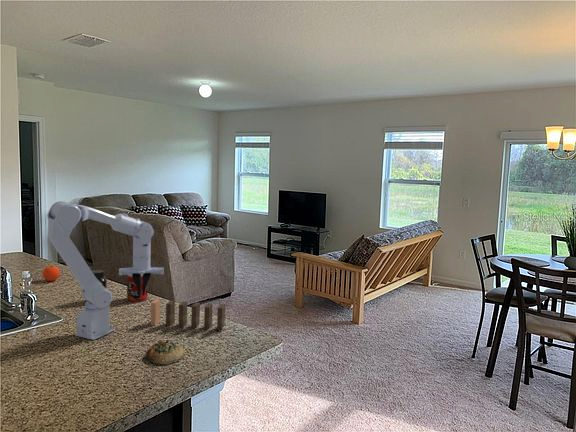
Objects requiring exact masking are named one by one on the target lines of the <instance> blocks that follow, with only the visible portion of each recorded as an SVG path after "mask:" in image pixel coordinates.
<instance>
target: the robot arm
mask: <svg viewBox="0 0 576 432" xmlns="http://www.w3.org/2000/svg"><path fill="white" fill-rule="evenodd" d="M46 217H47V221H48V223H47V224H48V225H47V236H48V240H49V241H50V243H51V244H52V246H53V247H54V248H55V250H56V252H57V253H58V254H59V256H60V257H61V259H62V260H63V262H64V263H65V265H66V267H68V269H69V270H70V271H71V274H72V275H73V276H74V278H75V279H76V281H77V282H78V284H79V288H80V289H81V292H82V294H81V295H82V298H84V300H85V304H84V308H83V309H82V310H81V311H79V312H78V314H77V316H76V333H74V335H75V336H76V337H79V338H85V339H87V340H91V341H94V340H96V339H98V338H101V337H103V336H106V335H107V334H109V333H112V332H114V331H116V328H114V327H110V304H111V303H112V301H113V293H112V291H111V290H110V289H108V288H107V289H106V288H105V287H104V286H103V285H102V283H101V282H100V281H99V280H98V279H97V278H96V277H95V275H94V274H93V272H92V271H93V270H91V268H90V267H89V265H88V264H87V262H86V260H85V259H84V257H83V256H82V254H81V252H80V251H79V250H78V248H77V247H76V245H75V244H74V242H73V240H72V239H71V237H70V236H71V234H72V231H73V229H74V228H75V227H76V226H77V224H79V222H84V221H86V220H87V221H88V220H92V221H96V222H99V223H103V224H106V225H110V227H111V229H112V230H113V231H116V232H118V233H121V234H125V235H128V236H132V267H123V268H119V269H118V276H125V275H126V276H127V275H131V274H132V279H133V281H134V282H135V285H136V287H137V290H138V295H141V274H143V290H142V295H145V289H146V286H147V283H148V284H149V280H150V279H151V276H152V275H164V273H165V271H164V270H165V269H164V268H165V267H157V266H156V267H152V266H151V253H152V252H151V248H152V247H151V243H152V242H151V241H152V237H153V236H154V233H155V230H154V228H153V226H152V225H151V223H149V222H145V221H143V220H142V221H141V219H140V218H138V217H136V218H134V217H131V216H129V215H128V214H127V213H125V212H123V213H117V214H115V215H112V214H109V213H107V212H105V211H104V212H103V211H101V210H98V209H96V208H93V207H90V206H86V205H81V204H76V203H68V202H66V201H56V202H55V203H53V204H51V206H50V208H49V210H48V212H47V216H46Z"/></svg>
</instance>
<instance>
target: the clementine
mask: <svg viewBox="0 0 576 432" xmlns="http://www.w3.org/2000/svg"><path fill="white" fill-rule="evenodd" d="M42 271H43V272H42V277H43V279H44V280H46V281H48V282H53V281H56V280H58V279H59V278H60V276H61V275H60V274H61V270H60V269H59V268H58V267H57V266H56V265H47V266H46V267H45V268H44V269H43V270H42Z"/></svg>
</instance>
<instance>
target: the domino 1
mask: <svg viewBox="0 0 576 432" xmlns="http://www.w3.org/2000/svg"><path fill="white" fill-rule="evenodd" d="M160 321H161V299H158V298H157V299H156V298H155V299H154V300H153V301H151V302H150V326H154V325H155V326H157V325H158V324H159V323H160ZM157 323H158V324H157ZM156 324H157V325H156Z"/></svg>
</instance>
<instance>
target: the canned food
mask: <svg viewBox="0 0 576 432" xmlns="http://www.w3.org/2000/svg"><path fill="white" fill-rule="evenodd" d="M148 287H149V282H148V283H147V286H146V289H145V295H142V290H143V274H141V295H138V290H137V287H136V285H135V282H134V281H133V279H132V274H131V275H126V299H127V301H128V302H131V303H140V302H144V301H147V300H148V293H149V291H148V289H149V288H148Z"/></svg>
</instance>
